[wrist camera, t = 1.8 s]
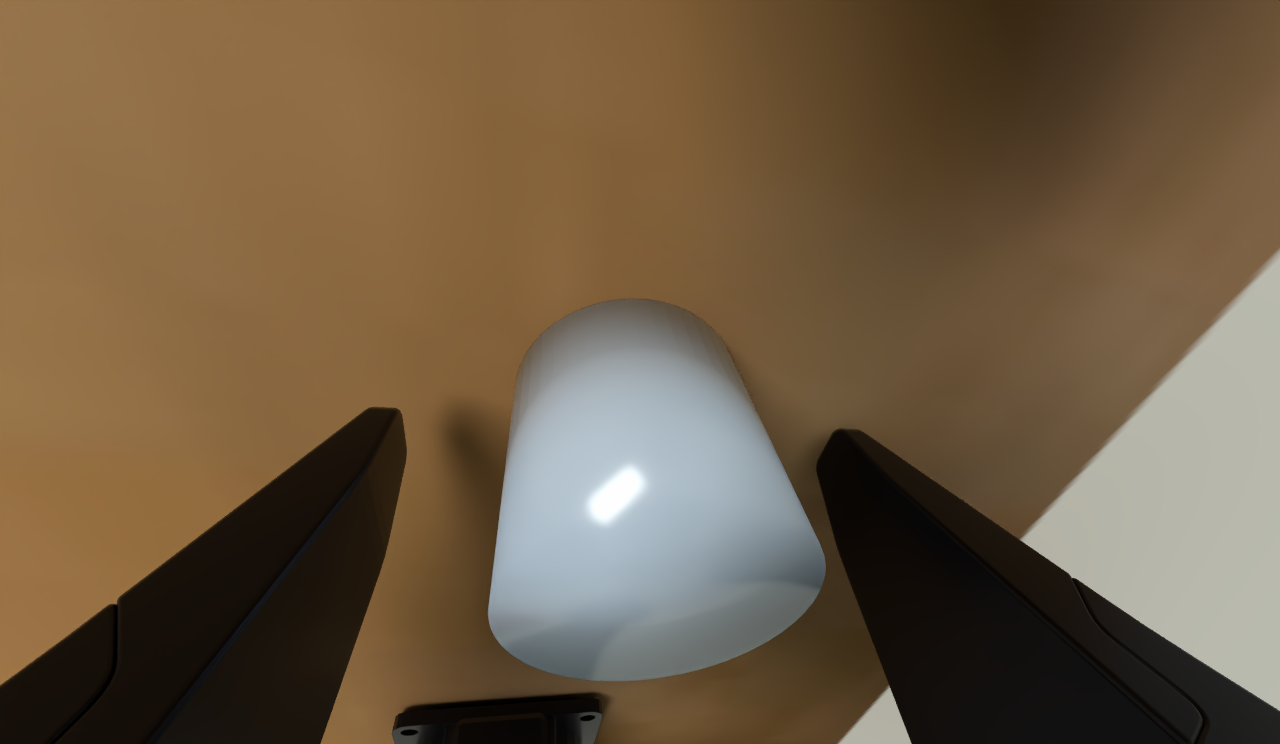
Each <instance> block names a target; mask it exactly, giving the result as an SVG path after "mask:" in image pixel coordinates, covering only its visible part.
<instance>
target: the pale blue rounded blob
mask: <svg viewBox="0 0 1280 744" xmlns="http://www.w3.org/2000/svg"><path fill="white" fill-rule="evenodd" d="M825 571H826V563H825V556H824V553H823V550H822V548H821V545H820V543H819V541H818V539H817V537H816V535H815V533H814V530H813V528H812V526H811V524H810V522H809V520H808V518H807V516H806V514H805V511H804V509H803V507H802V505H801V503H800V501H799V499H798V497H797V495H796V493H795V490H794V488H793V486H792V484H791V482H790V480H789V478H788V476H787V474H786V471H785V469H784V467H783V465H782V463H781V461H780V459H779V457H778V455H777V453H776V450H775V448H774V446H773V444H772V442H771V440H770V438H769V436H768V434H767V431H766V429H765V427H764V425H763V423H762V421H761V419H760V417H759V415H758V413H757V410H756V408H755V406H754V404H753V402H752V400H751V398H750V396H749V394H748V391H747V389H746V387H745V385H744V383H743V381H742V379H741V377H740V375H739V373H738V370H737V368H736V366H735V364H734V362H733V360H732V358H731V356H730V354H729V352H728V349H727V347H726V346H725V344H724V342H723V341H722V339H721V337H720V336H719V335H718V334H717V333H716V332H715V330H714V329H713V328H712V327H711V326H710V325H708V324H707V323H706V322H705V321H704V320H702V319H701V318H699V317H698V316H696V315H695V314H693V313H691V312H690V311H687V310H685V309H683V308H680V307H678V306H675V305H672V304H668V303H665V302H661V301H655V300H648V299H619V300H611V301H606V302H601V303H597V304H594V305H591V306H587V307H584V308H582V309H579V310H577V311H575V312H573V313H571V314H569V315H567V316H565V317H563V318H562V319H560V320H559V321H557V322H555V323H554V324H553V325H551V326H550V327H549V328H548V329H547V330H545V331H544V332H543V333H542V334H541V335H540V336H539V337H538V338H537V339H536V340H535V341H534V343H533V344H532V345H531V347H530V348H529V350H528V351H527V352H526V354H525V356H524V358H523V360H522V362H521V364H520V366H519V370H518V373H517V376H516V382H515V391H514V399H513V407H512V416H511V424H510V432H509V441H508V449H507V457H506V466H505V474H504V482H503V491H502V499H501V507H500V516H499V524H498V532H497V541H496V549H495V558H494V566H493V574H492V583H491V591H490V599H489V608H488V618H489V625H490V628H491V630H492V632H493V635H494V637H495V638H496V639H497V641H498V642H499V643H500V645H501V646H502V647H503V648H504V649H505V650H506V651H508V652H509V653H510V654H511V655H512V656H514V657H516V658H517V659H519V660H520V661H522V662H524V663H526V664H528V665H530V666H532V667H534V668H537V669H540V670H543V671H545V672H548V673H552V674H556V675H560V676H564V677H570V678H576V679H583V680H594V681H636V680H646V679H655V678H662V677H669V676H674V675H679V674H684V673H688V672H692V671H696V670H700V669H704V668H707V667H710V666H713V665H716V664H719V663H722V662H725V661H727V660H730V659H733V658H735V657H738V656H740V655H742V654H744V653H747V652H749V651H751V650H753V649H755V648H757V647H759V646H760V645H762V644H764V643H766V642H768V641H769V640H771V639H772V638H774V637H776V636H777V635H779V634H780V633H782V632H783V631H784V630H786V629H787V628H788V627H789V626H791V625H792V624H793V623H794V622H796V621H797V620H798V619H799V618H800V617H801V616H802V615H803V614H804V613H805V612H806V610H807V609H808V608H809V607H810V606H811V604H812V603H813V602H814V600H815V598H816V597H817V595H818V594H819V592H820V590H821V587H822V584H823V582H824V578H825Z"/></svg>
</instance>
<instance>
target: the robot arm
mask: <svg viewBox="0 0 1280 744" xmlns="http://www.w3.org/2000/svg"><path fill="white" fill-rule="evenodd" d="M406 456H407V447H406V439H405V432H404V425H403V418H402V414H401V412H400V410H398V409H397V408H385V407H370V408H368V409H366V410H365V411H363V412H362V413H361V414H359V415H358V416H357V417H355V418H354V419H353V420H352V421H350V422H349V423H348V424H346V425H345V426H344V427H342V428H341V429H340V430H338V431H337V432H336V433H334V434H333V435H332V436H330V437H329V438H328V439H326V440H325V441H324V442H323V443H321V444H320V445H319V446H317V447H316V448H315V449H313V450H312V451H311V452H309V453H308V454H307V455H305V456H304V457H303V458H301V459H300V460H299V461H298V462H296V463H295V464H294V465H292V466H291V467H290V468H288V469H287V470H286V471H284V472H283V473H282V474H280V475H279V476H278V477H276V478H275V479H274V480H273V481H271V482H270V483H269V484H267V485H266V486H265V487H263V488H262V489H261V490H259V491H258V492H257V493H255V494H254V495H253V496H251V497H250V498H249V499H248V500H246V501H245V502H244V503H242V504H241V505H240V506H238V507H237V508H236V509H234V510H233V511H232V512H230V513H229V514H228V515H226V516H225V517H224V518H223V519H221V520H220V521H219V522H217V523H216V524H215V525H213V526H212V527H211V528H209V529H208V530H207V531H205V532H204V533H203V534H201V535H200V536H199V537H198V538H196V539H195V540H194V541H192V542H191V543H190V544H188V545H187V546H186V547H184V548H183V549H182V550H180V551H179V552H178V553H176V554H175V555H174V556H173V557H171V558H170V559H169V560H167V561H166V562H165V563H163V564H162V565H161V566H159V567H158V568H157V569H155V570H154V571H153V572H151V573H150V574H149V575H148V576H146V577H145V578H144V579H142V580H141V581H140V582H138V583H137V584H136V585H134V586H133V587H132V588H130V589H129V590H128V591H126V592H125V593H124V594H123V595H121V596H120V597H119V598H118V600H117V605H116V604H110V605H108V606H106V607H105V608H104V609H102V610H101V611H100V612H98V613H97V614H96V615H94V616H93V617H92V618H90V619H89V620H88V621H87V622H85V623H84V624H83V625H81V626H80V627H79V628H77V629H76V630H75V631H73V632H72V633H71V634H69V635H68V636H67V637H65V638H64V639H63V640H61V641H60V642H59V643H57V644H56V645H55V646H53V647H52V648H50V649H49V650H48V651H46V652H45V653H44V654H42V655H41V656H40V657H38V658H37V659H35V660H34V661H33V662H31V663H30V664H29V665H27V666H26V667H25V668H23V669H22V670H20V671H19V672H18V673H16V674H15V675H14V676H12V677H11V678H10V679H8V680H7V681H6V682H4V683H3V684H1V685H0V744H320V743H321V740H322V738H323V735H324V732H325V729H326V726H327V723H328V720H329V717H330V715H331V712H332V709H333V706H334V703H335V700H336V697H337V694H338V692H339V689H340V686H341V683H342V680H343V677H344V674H345V671H346V669H347V666H348V663H349V660H350V657H351V654H352V651H353V648H354V646H355V643H356V640H357V637H358V634H359V631H360V628H361V625H362V623H363V620H364V617H365V614H366V611H367V608H368V605H369V602H370V600H371V597H372V594H373V591H374V588H375V585H376V582H377V579H378V577H379V574H380V571H381V568H382V564H383V561H384V558H385V554H386V550H387V546H388V542H389V537H390V533H391V528H392V524H393V519H394V514H395V510H396V505H397V500H398V496H399V491H400V487H401V482H402V477H403V473H404V468H405V463H406ZM816 469H817V476H818V480H819V483H820V487H821V491H822V494H823V498H824V502H825V505H826V509H827V513H828V516H829V520H830V524H831V527H832V531H833V535H834V538H835V542H836V545H837V548H838V552H839V554H840V557H841V560H842V563H843V566H844V568H845V571H846V573H847V576H848V579H849V581H850V584H851V586H852V589H853V592H854V594H855V597H856V599H857V602H858V605H859V607H860V610H861V613H862V615H863V618H864V620H865V623H866V626H867V628H868V631H869V633H870V636H871V639H872V641H873V644H874V646H875V649H876V652H877V654H878V657H879V660H880V662H881V665H882V667H883V670H884V673H885V675H886V678H887V680H888V683H889V686H890V688H891V691H892V693H893V696H894V698H895V701H896V704H897V707H898V709H899V712H900V714H901V717H902V720H903V722H904V725H905V727H906V730H907V733H908V735H909V738H910V740H911V743H912V744H1280V711H1279V710H1277V709H1276V708H1274V707H1273V706H1271V705H1269V704H1268V703H1266V702H1264V701H1263V700H1261V699H1260V698H1258V697H1257V696H1255V695H1254V694H1252V693H1250V692H1248V691H1247V690H1245V689H1244V688H1242V687H1241V686H1239V685H1237V684H1236V683H1234V682H1233V681H1231V680H1230V679H1228V678H1226V677H1225V676H1223V675H1222V674H1220V673H1218V672H1217V671H1215V670H1214V669H1212V668H1210V667H1209V666H1207V665H1206V664H1204V663H1203V662H1201V661H1199V660H1198V659H1196V658H1195V657H1193V656H1192V655H1190V654H1188V653H1187V652H1185V651H1184V650H1182V649H1181V648H1179V647H1177V646H1176V645H1175V644H1173V643H1171V642H1170V641H1168V640H1166V639H1165V638H1164V637H1162V636H1160V635H1159V634H1157V633H1156V632H1154V631H1153V630H1151V629H1149V628H1148V627H1146V626H1145V625H1143V624H1142V623H1140V622H1139V621H1137V620H1136V619H1134V618H1133V617H1131V616H1130V615H1129V614H1127V613H1126V612H1124V611H1123V610H1121V609H1120V608H1118V607H1117V606H1115V605H1114V604H1112V603H1111V602H1109V601H1108V600H1106V599H1105V598H1103V597H1102V596H1100V595H1099V594H1097V593H1096V592H1094V591H1093V590H1092V589H1090V588H1089V587H1087V586H1086V585H1084V584H1083V583H1082V582H1080V581H1079V580H1077V579H1075V578H1071V576H1070V575H1069V574H1068V573H1067V572H1065V571H1064V570H1062V569H1061V568H1060V567H1058V566H1057V565H1055V564H1054V563H1052V562H1051V561H1049V560H1048V559H1046V558H1045V557H1044V556H1042V555H1040V554H1039V553H1038V552H1036V551H1035V550H1033V549H1032V548H1030V547H1029V546H1028V545H1026V544H1025V543H1023V542H1022V541H1020V540H1019V539H1018V538H1016V537H1015V536H1013V535H1012V534H1010V533H1009V532H1007V531H1006V530H1004V529H1003V528H1002V527H1000V526H999V525H997V524H996V523H994V522H993V521H991V520H990V519H989V518H987V517H986V516H984V515H983V514H981V513H980V512H978V511H977V510H975V509H974V508H973V507H971V506H970V505H968V504H967V503H965V502H964V501H962V500H961V499H960V498H958V497H957V496H955V495H954V494H952V493H951V492H949V491H948V490H946V489H945V488H944V487H942V486H941V485H939V484H938V483H936V482H935V481H933V480H932V479H930V478H929V477H928V476H926V475H925V474H923V473H922V472H920V471H919V470H917V469H916V468H915V467H913V466H912V465H910V464H909V463H907V462H906V461H904V460H903V459H901V458H900V457H899V456H897V455H896V454H894V453H893V452H891V451H890V450H888V449H887V448H886V447H884V446H883V445H881V444H880V443H878V442H877V441H875V440H874V439H872V438H871V437H870V436H868V435H867V434H865V433H864V432H862V431H860V430H857V429H837V430H835V431H834V432H833V433H832V435H831V436H830V438H829V440H828V442H827V444H826V445H825V447H824V449H823V451H822V453H821V455H820V456H819V458H818V461H817V467H816ZM602 717H603V715H602V702H601V701H600V700H599V699H595V698H586V699H572V700H559V701H545V702H531V703H517V704H503V705H489V706H476V707H462V708H448V709H434V710H420V711H409V712H403V713H400V714H398V715H397V716H396V718H395V722H394V726H393V731H392V736H393V740H394V743H395V744H594V742H595V739H596V735H597V732H598V729H599V726H600V723H601V720H602Z"/></svg>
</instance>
